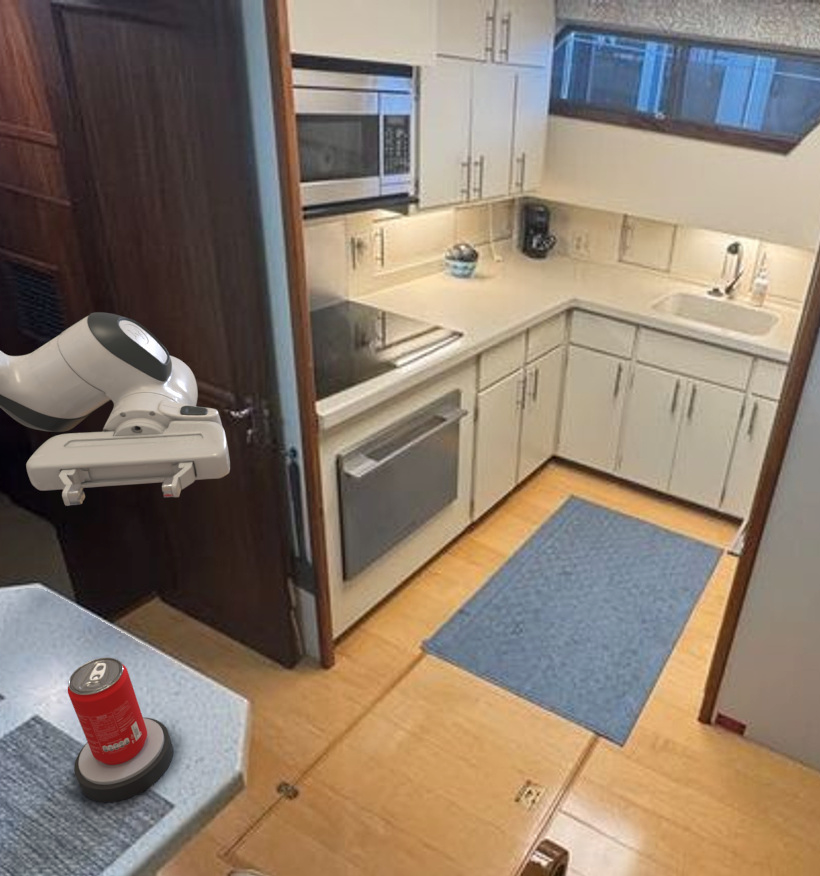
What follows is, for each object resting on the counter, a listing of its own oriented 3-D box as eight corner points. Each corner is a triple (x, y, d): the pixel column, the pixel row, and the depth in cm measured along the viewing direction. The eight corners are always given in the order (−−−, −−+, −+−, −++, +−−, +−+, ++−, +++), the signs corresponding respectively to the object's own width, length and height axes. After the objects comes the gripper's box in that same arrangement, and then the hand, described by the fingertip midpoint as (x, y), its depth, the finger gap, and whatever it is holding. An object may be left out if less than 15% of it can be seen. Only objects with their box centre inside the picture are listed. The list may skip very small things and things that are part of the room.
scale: (71, 757, 79) (64, 741, 77) (160, 717, 85) (155, 701, 83) (89, 818, 74) (82, 802, 72) (183, 771, 79) (178, 755, 78)
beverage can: (87, 772, 75) (56, 699, 69) (103, 730, 79) (76, 658, 73) (141, 764, 76) (116, 692, 70) (154, 724, 80) (132, 653, 74)
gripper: (41, 415, 83) (-2, 480, 72) (231, 408, 90) (218, 466, 79) (55, 459, 86) (16, 528, 75) (237, 449, 93) (226, 510, 82)
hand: (121, 496), depth 77 cm, fingers open, 8 cm apart
